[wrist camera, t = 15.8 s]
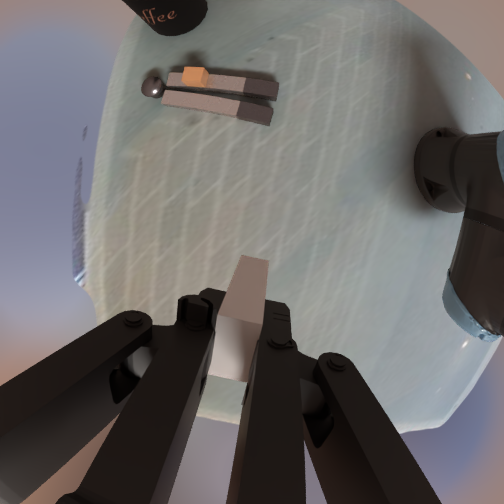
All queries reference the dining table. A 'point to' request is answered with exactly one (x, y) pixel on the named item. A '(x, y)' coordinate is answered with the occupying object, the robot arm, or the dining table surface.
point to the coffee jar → (170, 14)
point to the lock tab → (195, 76)
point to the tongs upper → (218, 106)
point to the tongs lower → (215, 86)
